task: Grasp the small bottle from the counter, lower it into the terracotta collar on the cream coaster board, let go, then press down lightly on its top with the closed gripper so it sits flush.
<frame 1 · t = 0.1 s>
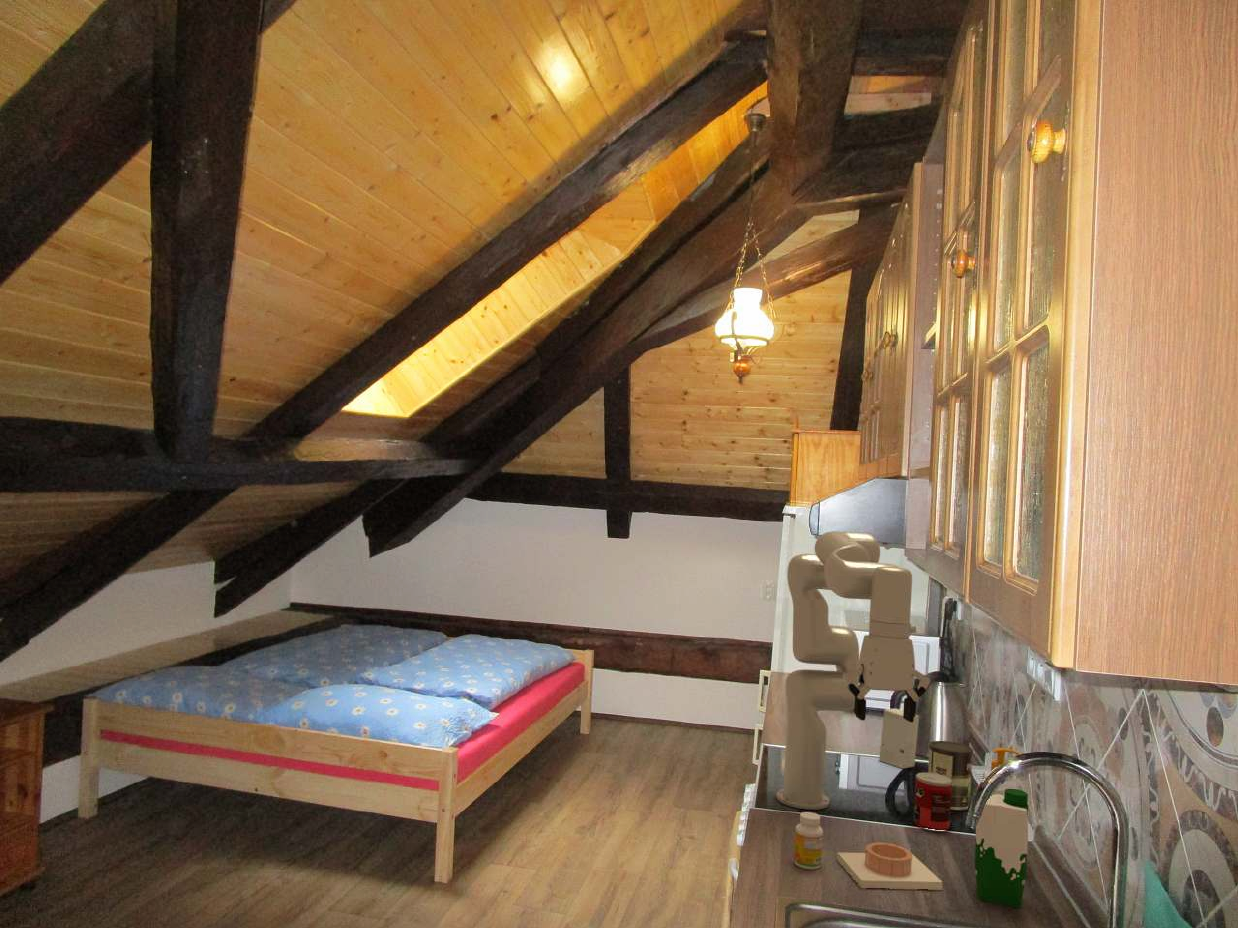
hand: (884, 719, 171), 31 cm above the worktop, tool pointing down, fingers open, 9 cm apart
skincare box: (897, 764, 253), on the worktop
supplement bottle: (807, 865, 177), on the worktop
coaster board: (887, 874, 175), on the worktop
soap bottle: (997, 859, 187), on the worktop
milk carton: (998, 897, 168), on the worktop
canned food: (931, 826, 204), on the worktop
bottle collar: (888, 866, 175), resting on coaster board
coffee can: (947, 803, 221), on the worktop
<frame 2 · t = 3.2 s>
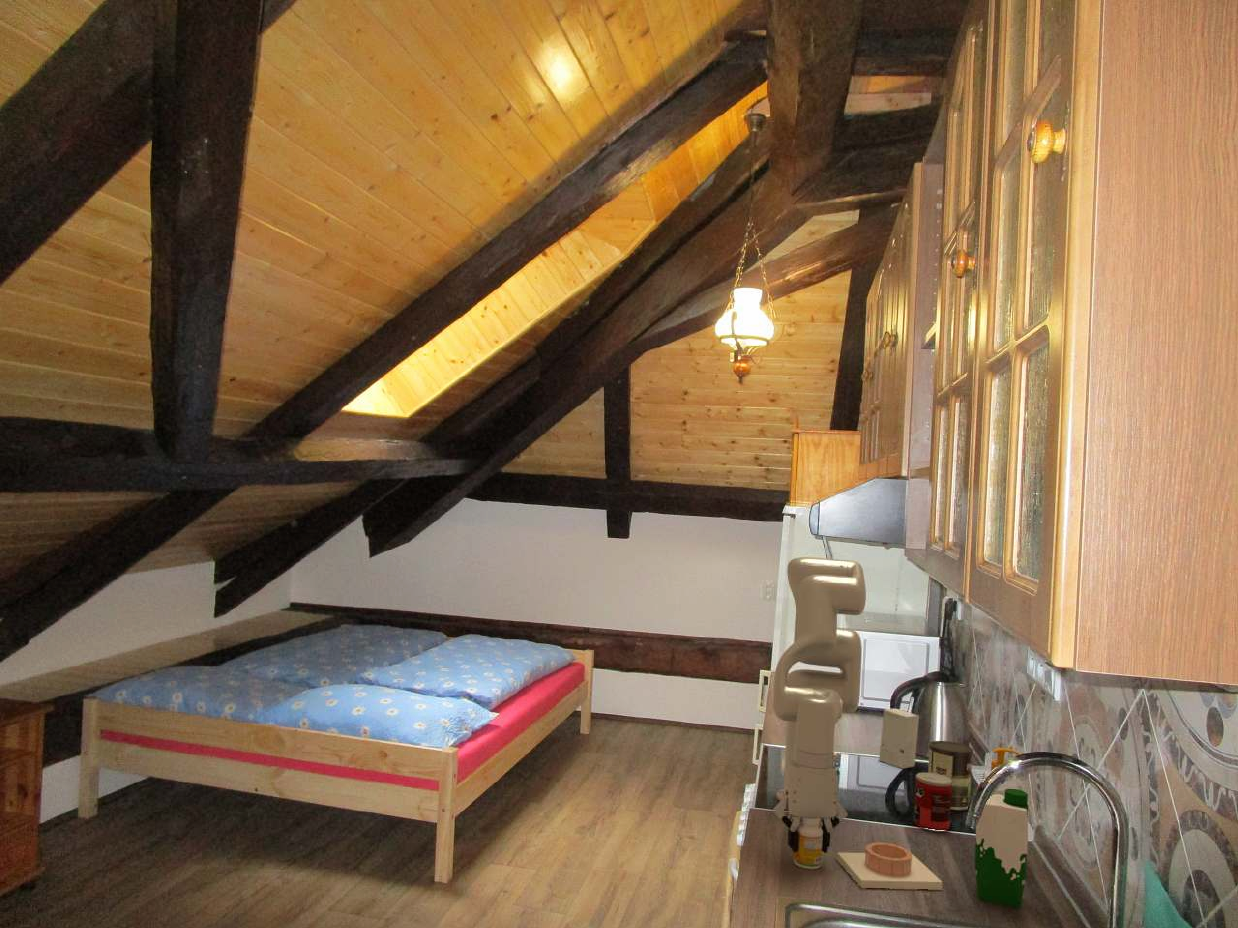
hand: (808, 848, 177), 3 cm above the worktop, tool pointing down, fingers closed on supplement bottle, 5 cm apart
supplement bottle: (807, 865, 177), on the worktop, touching gripper
everything else where it was.
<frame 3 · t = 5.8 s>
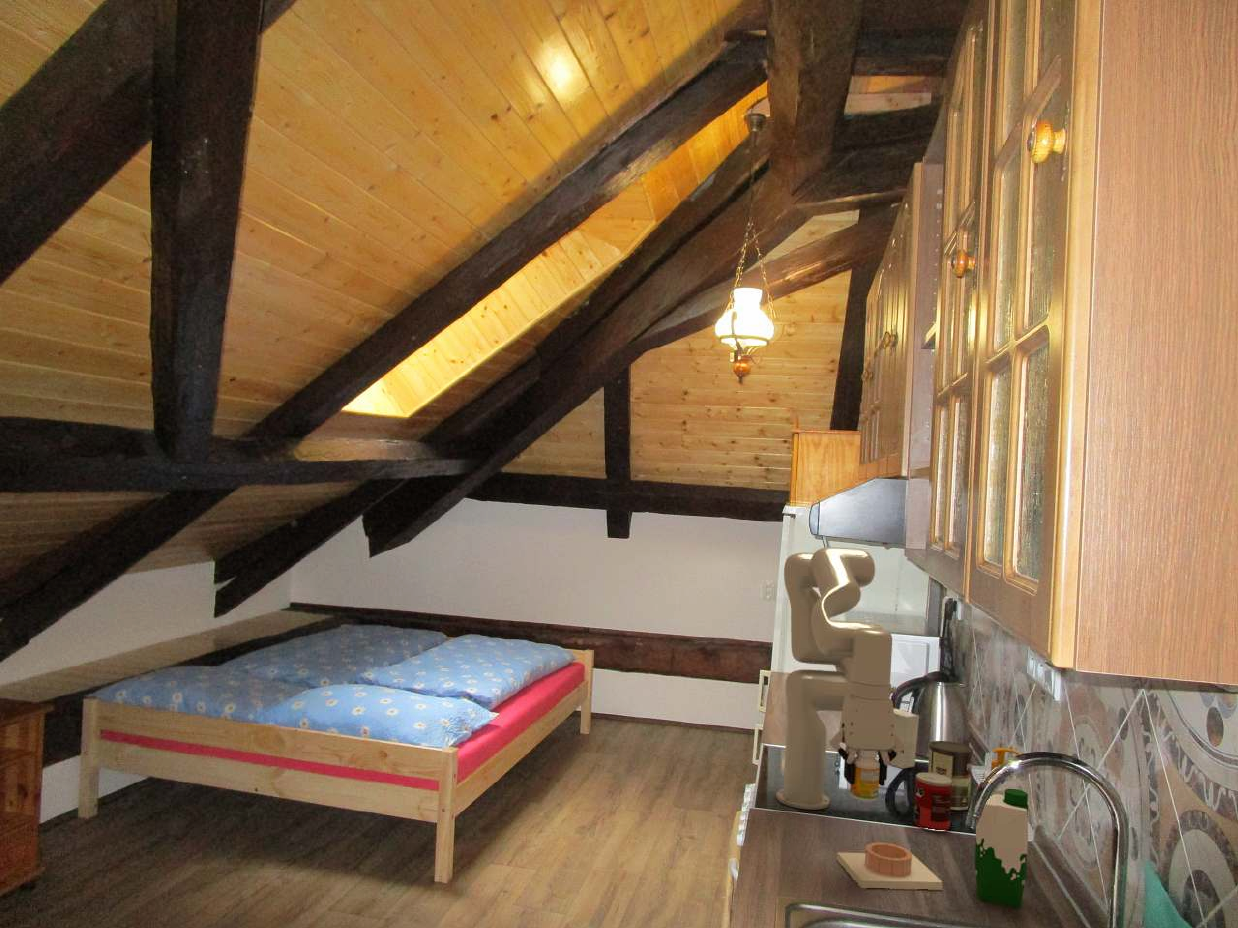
hand: (864, 781, 176), 17 cm above the worktop, tool pointing down, fingers closed on supplement bottle, 5 cm apart
supplement bottle: (863, 798, 176), point 14 cm above the worktop, touching gripper
everything else where it was.
when the fingers open (6 cm above the worktop, at t = 8.4 s): supplement bottle drops 1 cm, resting on coaster board.
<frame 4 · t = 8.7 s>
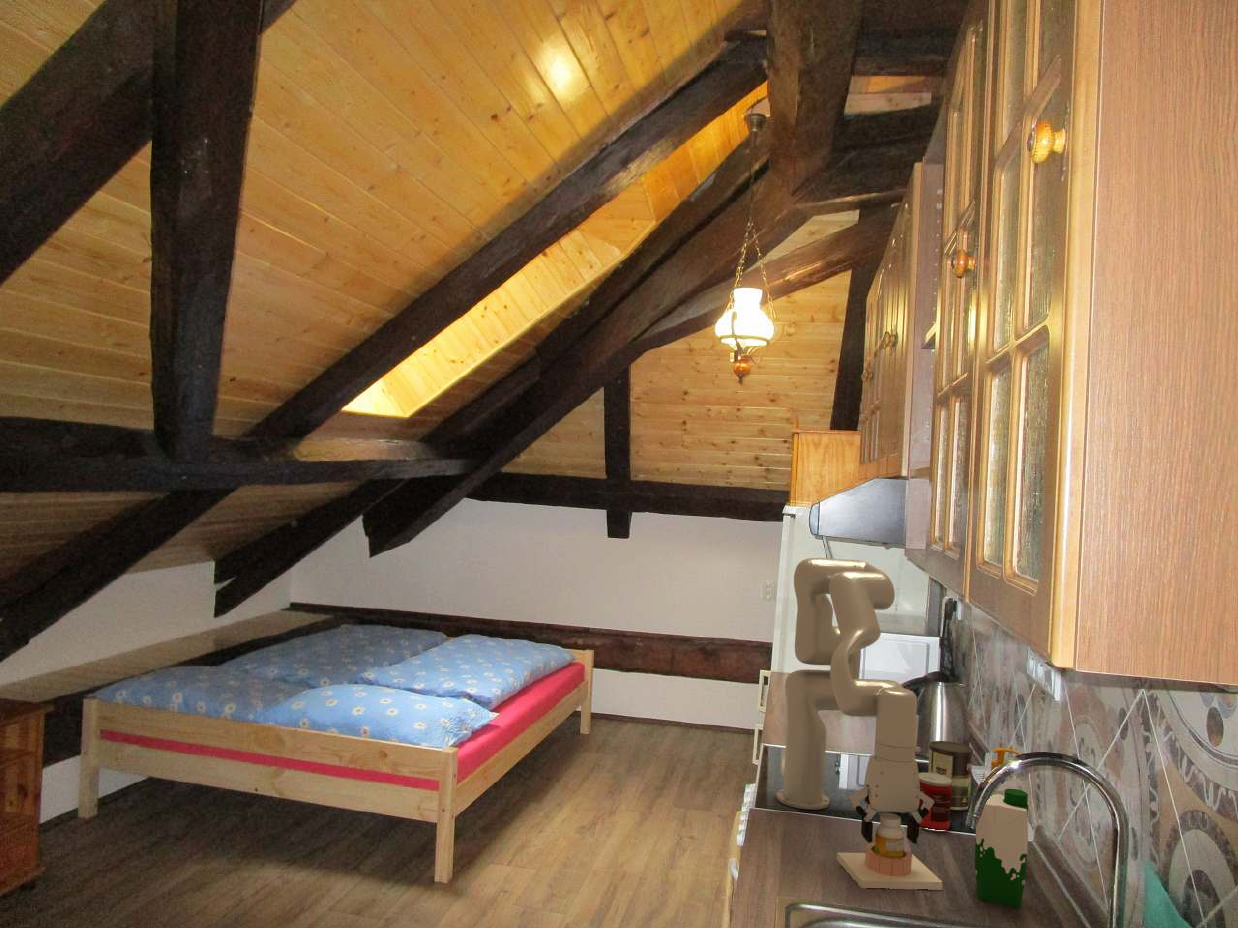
hand: (889, 840, 175), 7 cm above the worktop, tool pointing down, fingers open, 8 cm apart
supplement bottle: (887, 867, 175), point 1 cm above the worktop, touching coaster board
everything else where it was.
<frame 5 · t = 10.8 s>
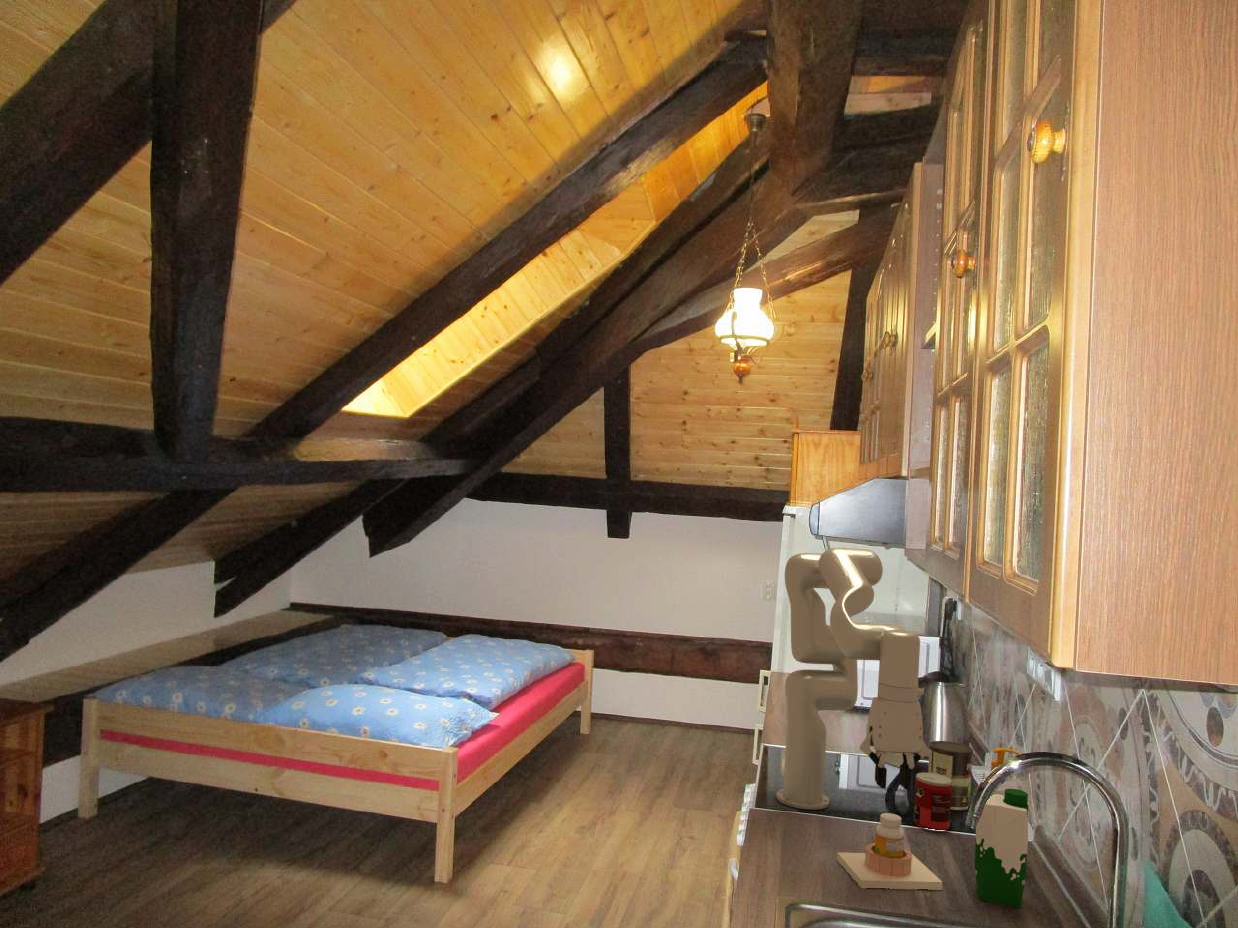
hand: (892, 785, 175), 17 cm above the worktop, tool pointing down, fingers open, 4 cm apart
nothing on the worktop moved.
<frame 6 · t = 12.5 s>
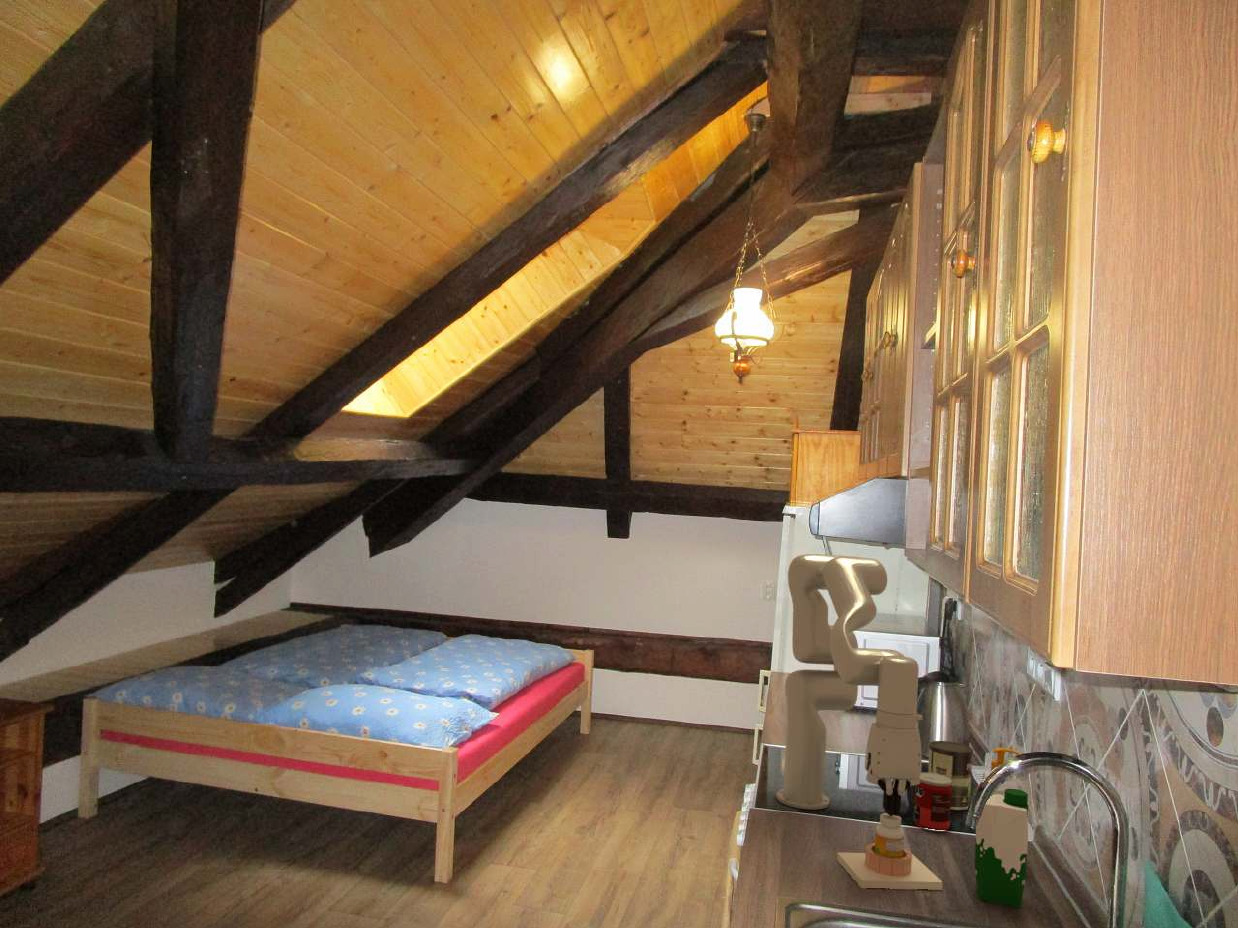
hand: (891, 813, 175), 12 cm above the worktop, tool pointing down, fingers closed
nothing on the worktop moved.
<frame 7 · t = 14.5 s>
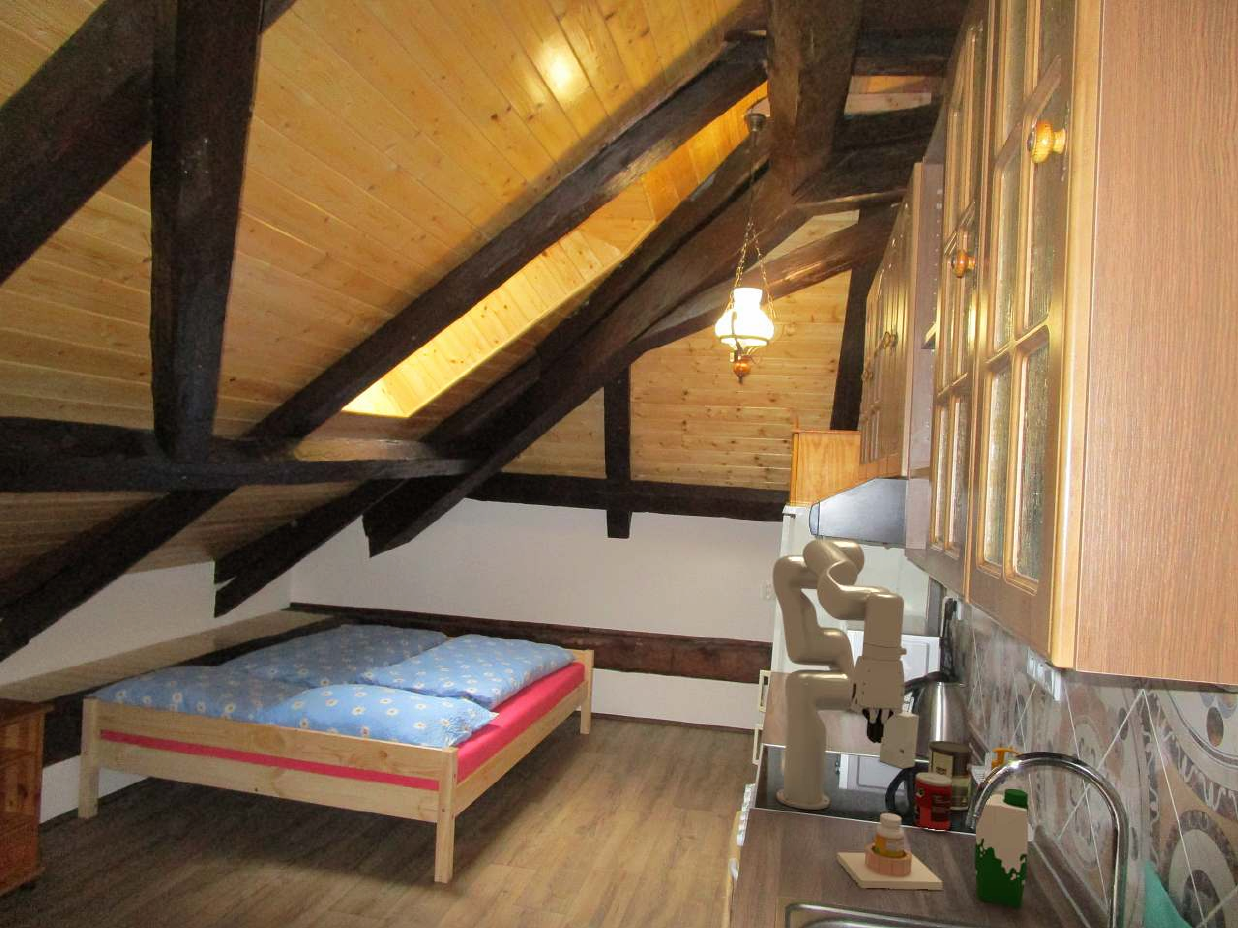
hand: (874, 740, 183), 24 cm above the worktop, tool pointing down, fingers closed
nothing on the worktop moved.
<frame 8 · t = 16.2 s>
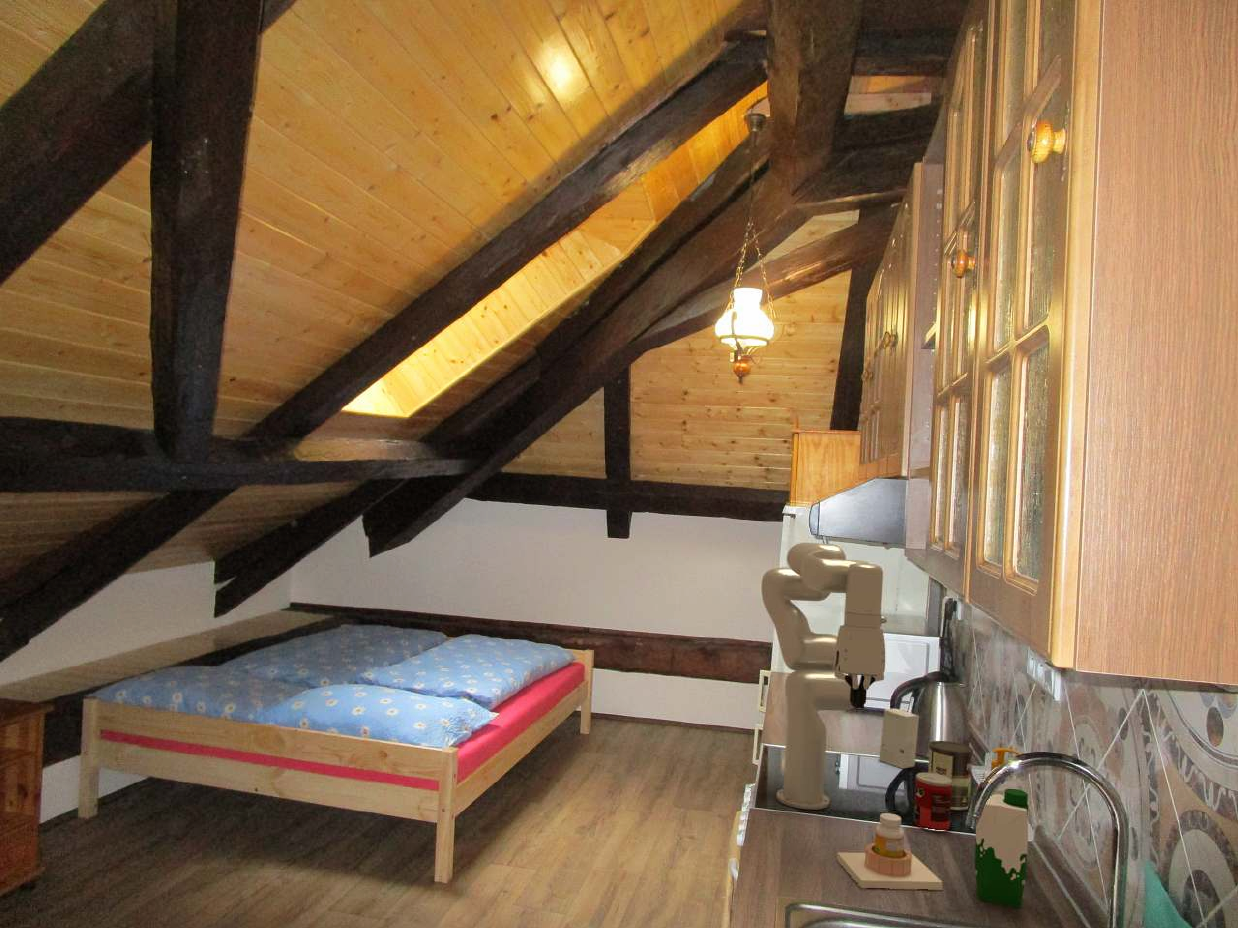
hand: (857, 706, 190), 29 cm above the worktop, tool pointing down, fingers closed
nothing on the worktop moved.
at the end: supplement bottle 0.1 cm off-centre on the bottle collar, point 0.0 cm above the bottle collar's base; supplement bottle tilted 0°; the gripper is holding nothing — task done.
